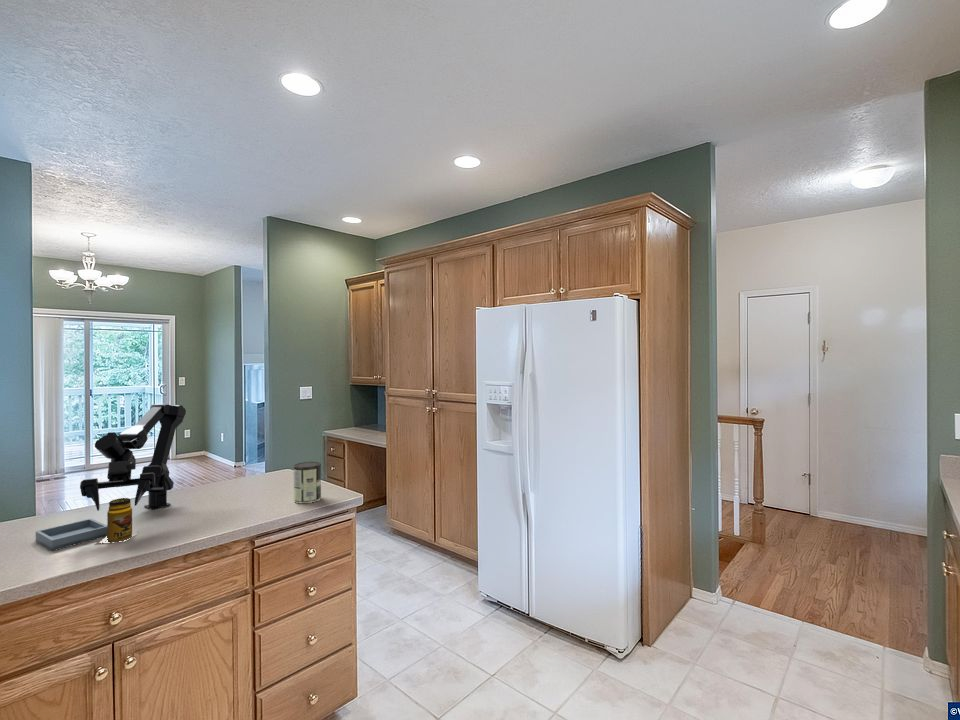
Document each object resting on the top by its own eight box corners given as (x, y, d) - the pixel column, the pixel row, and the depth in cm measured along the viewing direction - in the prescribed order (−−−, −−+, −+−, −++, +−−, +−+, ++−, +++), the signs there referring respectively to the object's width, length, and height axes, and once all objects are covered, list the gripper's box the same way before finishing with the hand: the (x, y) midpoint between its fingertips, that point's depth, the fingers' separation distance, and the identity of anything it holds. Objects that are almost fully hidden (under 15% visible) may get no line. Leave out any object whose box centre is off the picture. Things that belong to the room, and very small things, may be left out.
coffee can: (309, 494, 189) (309, 460, 189) (326, 498, 184) (326, 463, 184) (287, 501, 181) (287, 465, 181) (304, 505, 175) (304, 468, 175)
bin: (35, 541, 140) (35, 531, 140) (91, 527, 152) (91, 518, 152) (51, 550, 133) (51, 540, 133) (108, 535, 145) (108, 526, 145)
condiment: (126, 542, 140) (126, 502, 140) (93, 544, 138) (94, 504, 138) (138, 533, 147) (138, 495, 147) (107, 535, 145) (107, 497, 145)
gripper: (81, 453, 143) (74, 498, 134) (154, 448, 153) (153, 488, 144) (85, 474, 150) (78, 518, 140) (155, 467, 160) (154, 507, 151)
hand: (117, 507), depth 144 cm, fingers open, 9 cm apart
